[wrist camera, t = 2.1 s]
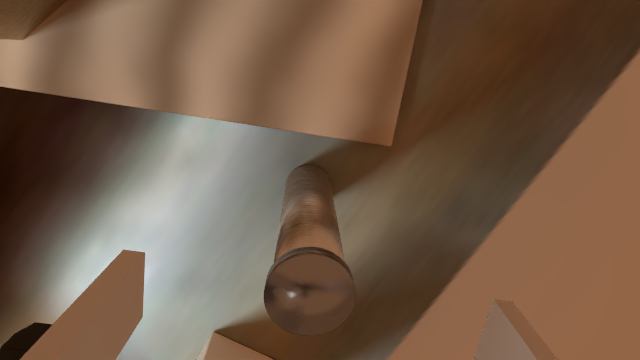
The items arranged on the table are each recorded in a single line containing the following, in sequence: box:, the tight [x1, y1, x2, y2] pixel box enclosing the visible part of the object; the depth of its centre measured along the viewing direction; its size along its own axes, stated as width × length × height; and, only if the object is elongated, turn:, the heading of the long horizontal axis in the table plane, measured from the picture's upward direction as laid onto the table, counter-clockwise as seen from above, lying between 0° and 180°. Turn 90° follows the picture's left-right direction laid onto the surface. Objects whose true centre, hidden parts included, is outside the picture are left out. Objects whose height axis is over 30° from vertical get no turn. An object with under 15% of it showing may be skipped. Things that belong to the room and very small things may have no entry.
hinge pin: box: [264, 165, 355, 336], centre depth 23 cm, size 4×4×14 cm
